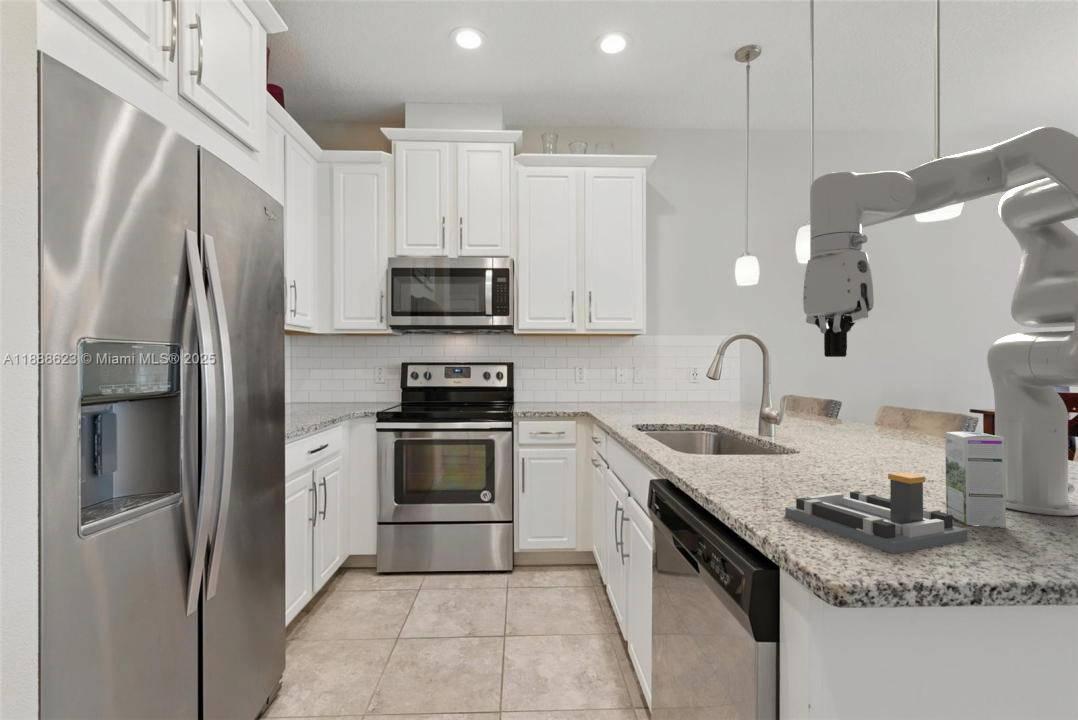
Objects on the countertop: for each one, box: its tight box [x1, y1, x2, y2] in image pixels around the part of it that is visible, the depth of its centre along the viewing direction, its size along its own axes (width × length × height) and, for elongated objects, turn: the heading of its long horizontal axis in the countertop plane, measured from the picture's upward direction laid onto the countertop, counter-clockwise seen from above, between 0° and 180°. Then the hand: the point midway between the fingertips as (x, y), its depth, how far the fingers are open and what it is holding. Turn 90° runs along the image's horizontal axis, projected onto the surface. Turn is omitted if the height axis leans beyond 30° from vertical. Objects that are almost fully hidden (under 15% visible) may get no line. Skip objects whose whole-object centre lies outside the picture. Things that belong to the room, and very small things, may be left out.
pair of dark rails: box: [795, 490, 954, 539], centre depth 79 cm, size 15×15×2 cm
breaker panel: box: [784, 492, 969, 555], centre depth 79 cm, size 16×18×3 cm
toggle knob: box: [887, 471, 926, 525], centre depth 74 cm, size 3×3×8 cm
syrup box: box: [944, 430, 1007, 529], centre depth 82 cm, size 6×6×14 cm
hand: (835, 356), depth 85 cm, fingers closed
